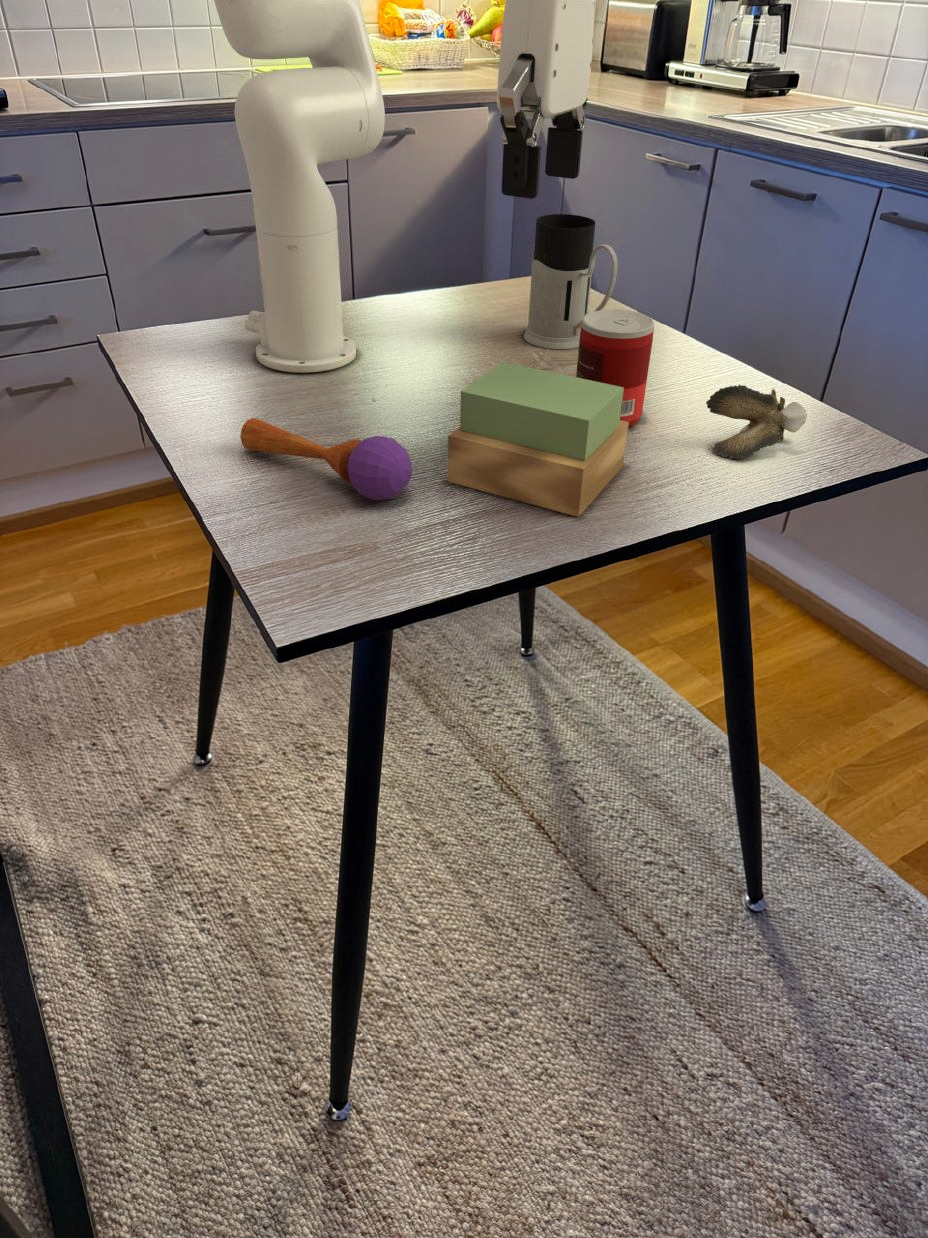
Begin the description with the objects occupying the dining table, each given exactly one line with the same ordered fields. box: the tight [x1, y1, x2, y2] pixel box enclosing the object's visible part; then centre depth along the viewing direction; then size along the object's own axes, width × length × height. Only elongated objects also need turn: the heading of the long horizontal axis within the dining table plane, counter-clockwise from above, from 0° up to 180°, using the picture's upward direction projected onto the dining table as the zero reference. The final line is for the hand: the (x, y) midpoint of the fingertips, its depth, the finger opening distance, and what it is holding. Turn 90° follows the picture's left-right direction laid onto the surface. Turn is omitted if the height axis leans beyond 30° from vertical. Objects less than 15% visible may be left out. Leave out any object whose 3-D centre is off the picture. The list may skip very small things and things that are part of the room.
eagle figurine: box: [705, 384, 808, 460], centre depth 99 cm, size 8×7×9 cm
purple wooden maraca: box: [239, 417, 413, 501], centre depth 92 cm, size 6×6×20 cm
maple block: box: [446, 420, 629, 518], centre depth 93 cm, size 14×12×5 cm
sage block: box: [459, 361, 624, 461], centre depth 90 cm, size 13×9×4 cm
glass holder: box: [523, 213, 619, 350], centre depth 121 cm, size 9×14×15 cm, turn 36°
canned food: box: [575, 308, 655, 428], centre depth 103 cm, size 8×8×11 cm
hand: (541, 185), depth 84 cm, fingers open, 9 cm apart
